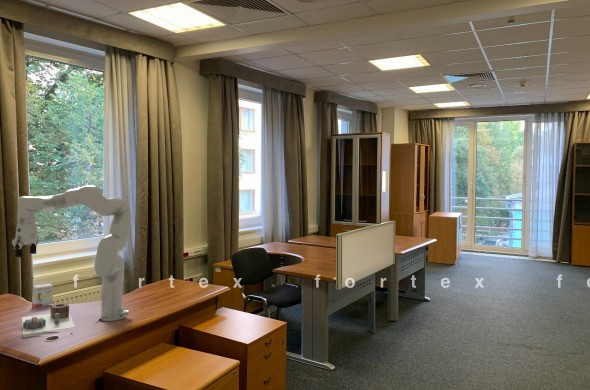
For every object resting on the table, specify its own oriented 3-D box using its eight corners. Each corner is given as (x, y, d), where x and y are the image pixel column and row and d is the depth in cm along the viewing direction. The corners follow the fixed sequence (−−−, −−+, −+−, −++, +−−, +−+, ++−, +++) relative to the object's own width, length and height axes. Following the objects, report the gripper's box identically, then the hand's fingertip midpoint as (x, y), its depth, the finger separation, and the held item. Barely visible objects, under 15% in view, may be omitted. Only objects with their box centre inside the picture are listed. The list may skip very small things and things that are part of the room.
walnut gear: (72, 314, 214) (73, 303, 214) (63, 319, 206) (63, 308, 206) (56, 313, 214) (56, 302, 214) (46, 319, 206) (46, 307, 206)
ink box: (35, 310, 224) (35, 287, 223) (31, 308, 227) (32, 285, 226) (53, 306, 230) (53, 284, 230) (49, 304, 233) (49, 283, 233)
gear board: (21, 320, 208) (22, 307, 207) (68, 314, 219) (68, 302, 218) (23, 337, 186) (23, 323, 186) (74, 330, 197) (75, 317, 197)
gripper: (20, 223, 205) (19, 258, 206) (45, 220, 223) (44, 252, 223) (6, 222, 206) (5, 257, 207) (32, 219, 223) (31, 252, 224)
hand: (25, 255), depth 215 cm, fingers open, 9 cm apart
